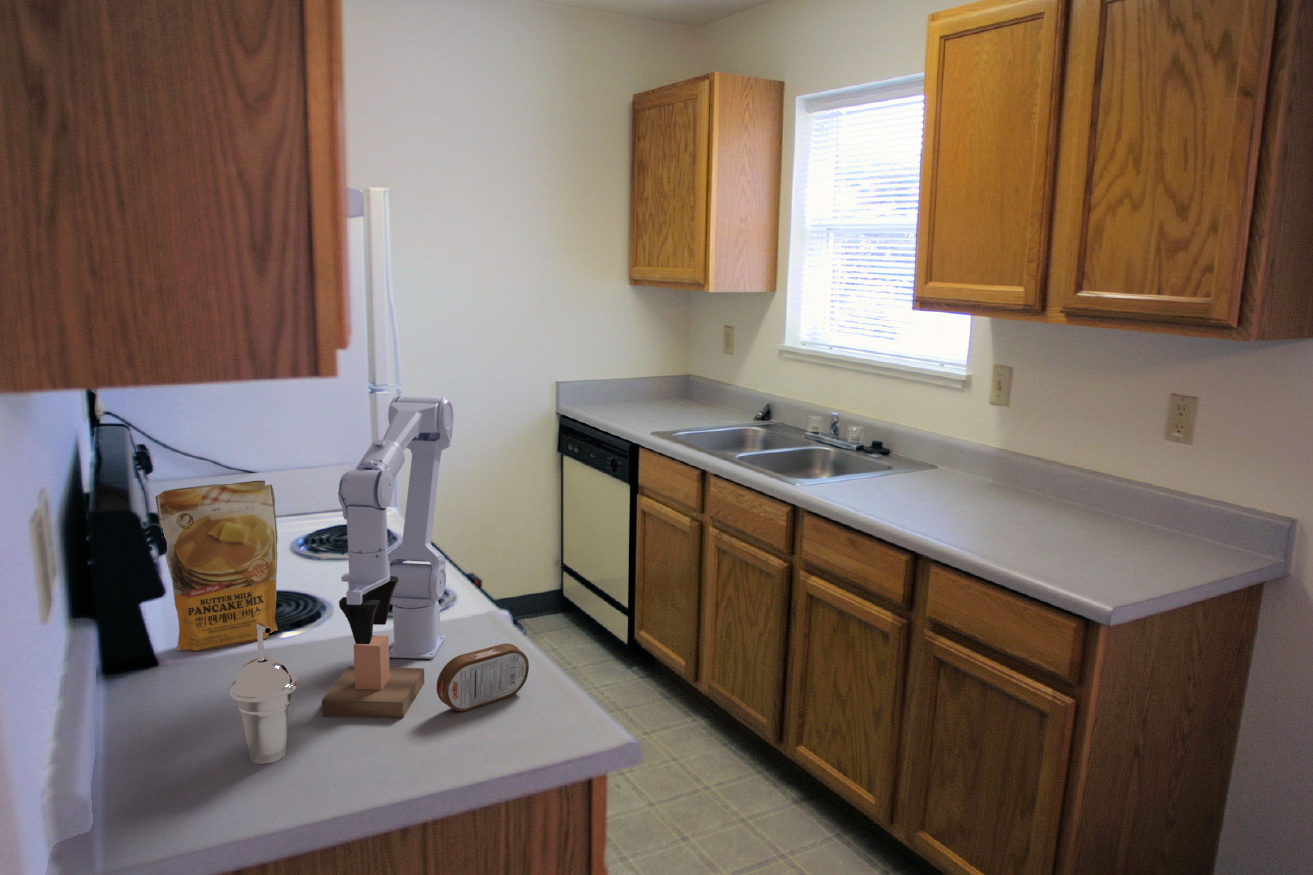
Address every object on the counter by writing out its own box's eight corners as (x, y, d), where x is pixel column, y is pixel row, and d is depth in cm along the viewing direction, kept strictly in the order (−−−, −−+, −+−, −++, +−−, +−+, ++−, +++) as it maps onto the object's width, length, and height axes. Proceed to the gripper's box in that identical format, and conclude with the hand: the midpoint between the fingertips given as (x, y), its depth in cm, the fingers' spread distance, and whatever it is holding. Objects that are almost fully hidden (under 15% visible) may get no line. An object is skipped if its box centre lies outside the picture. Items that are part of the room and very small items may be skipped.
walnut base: (350, 680, 152) (349, 666, 152) (424, 682, 152) (424, 668, 152) (322, 715, 141) (321, 699, 140) (402, 717, 140) (402, 702, 140)
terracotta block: (364, 677, 148) (362, 634, 147) (389, 678, 148) (388, 635, 147) (355, 688, 144) (353, 645, 143) (381, 689, 144) (379, 645, 143)
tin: (521, 685, 152) (521, 635, 150) (532, 692, 150) (531, 642, 148) (435, 712, 142) (434, 659, 141) (445, 720, 140) (444, 666, 138)
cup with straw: (307, 738, 134) (301, 603, 130) (291, 772, 125) (283, 628, 121) (244, 741, 133) (236, 604, 129) (223, 775, 124) (213, 629, 120)
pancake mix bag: (165, 644, 165) (152, 487, 160) (280, 624, 176) (272, 476, 171) (169, 657, 160) (156, 496, 155) (288, 636, 170) (280, 483, 165)
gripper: (357, 533, 150) (360, 615, 152) (323, 562, 136) (328, 651, 138) (401, 534, 150) (404, 616, 152) (373, 563, 136) (376, 652, 138)
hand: (371, 633), depth 145 cm, fingers open, 7 cm apart
